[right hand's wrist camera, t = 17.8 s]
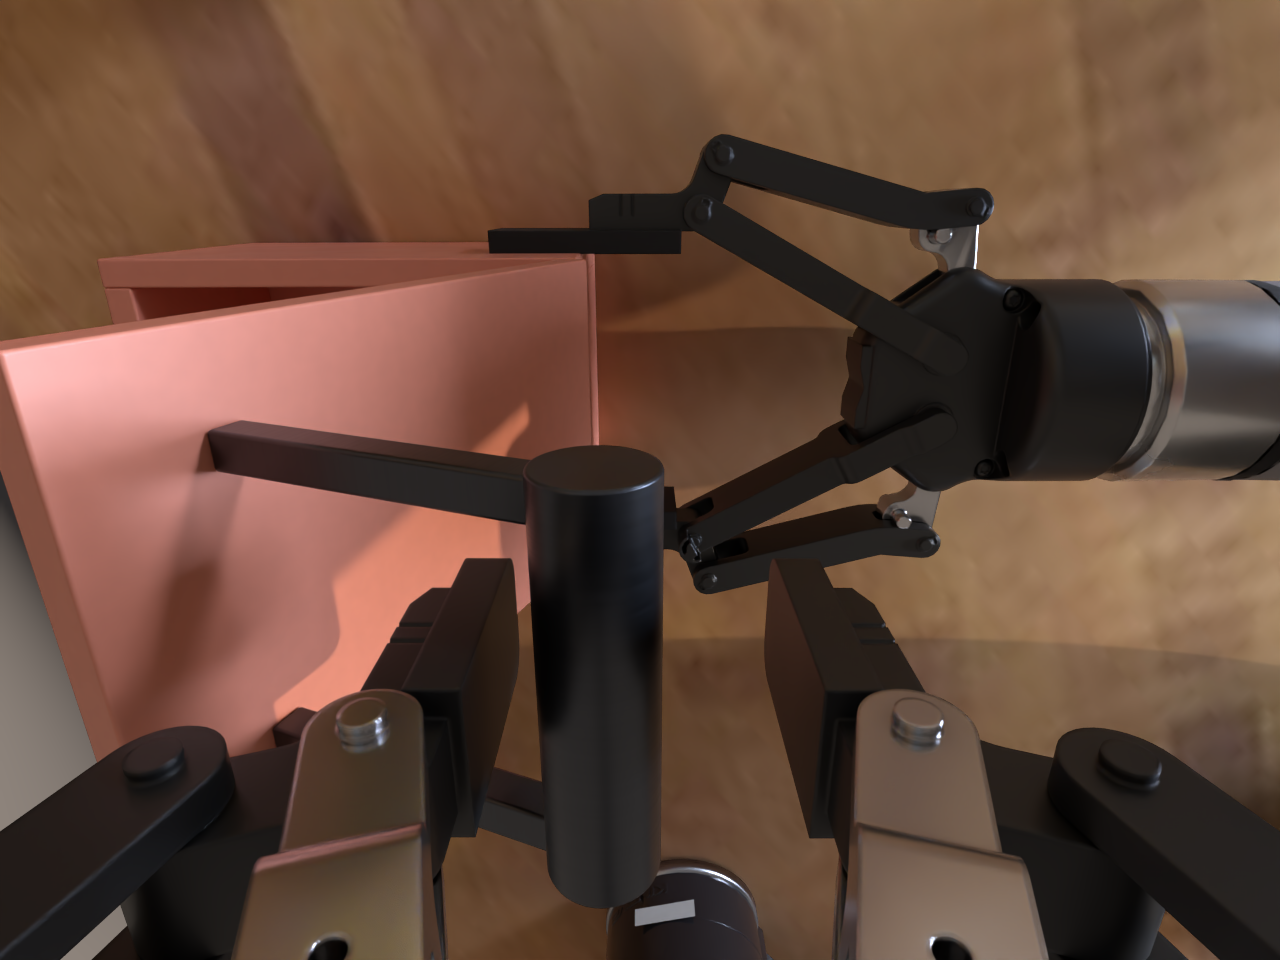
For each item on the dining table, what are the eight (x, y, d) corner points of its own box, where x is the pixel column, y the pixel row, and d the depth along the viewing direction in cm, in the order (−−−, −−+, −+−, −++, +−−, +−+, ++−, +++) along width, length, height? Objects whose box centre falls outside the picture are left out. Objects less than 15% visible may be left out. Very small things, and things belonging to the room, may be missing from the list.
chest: (288, 449, 36) (165, 536, 26) (251, 242, 32) (95, 259, 23) (599, 448, 36) (585, 535, 26) (594, 241, 32) (576, 257, 23)
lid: (145, 916, 12) (581, 1129, 9) (-43, 347, 9) (545, 412, 6) (574, 538, 26) (804, 579, 23) (563, 258, 23) (832, 265, 20)
